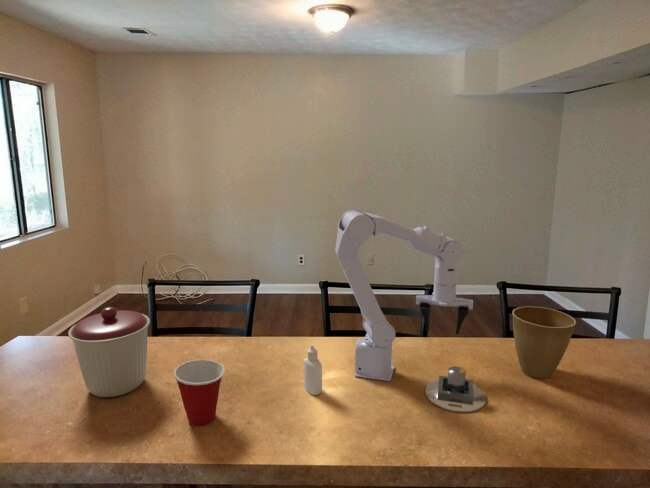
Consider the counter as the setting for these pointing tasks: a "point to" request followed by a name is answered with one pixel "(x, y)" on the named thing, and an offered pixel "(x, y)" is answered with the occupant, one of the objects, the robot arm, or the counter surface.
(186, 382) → the plastic cup
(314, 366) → the eye dropper bottle
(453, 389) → the shaft
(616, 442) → the counter surface
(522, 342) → the plant pot
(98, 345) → the canister
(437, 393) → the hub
